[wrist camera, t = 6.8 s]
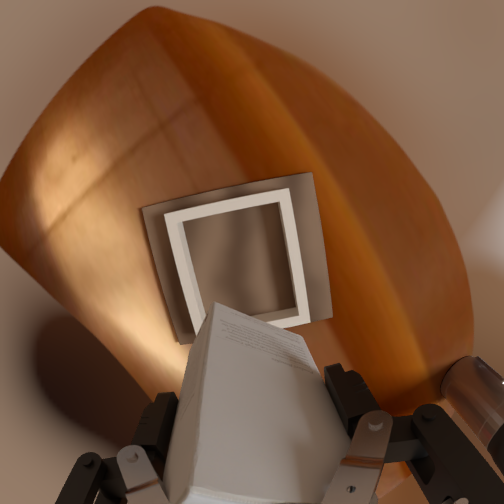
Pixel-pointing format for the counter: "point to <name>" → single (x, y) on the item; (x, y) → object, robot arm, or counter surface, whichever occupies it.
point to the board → (243, 253)
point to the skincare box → (252, 418)
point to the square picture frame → (283, 198)
